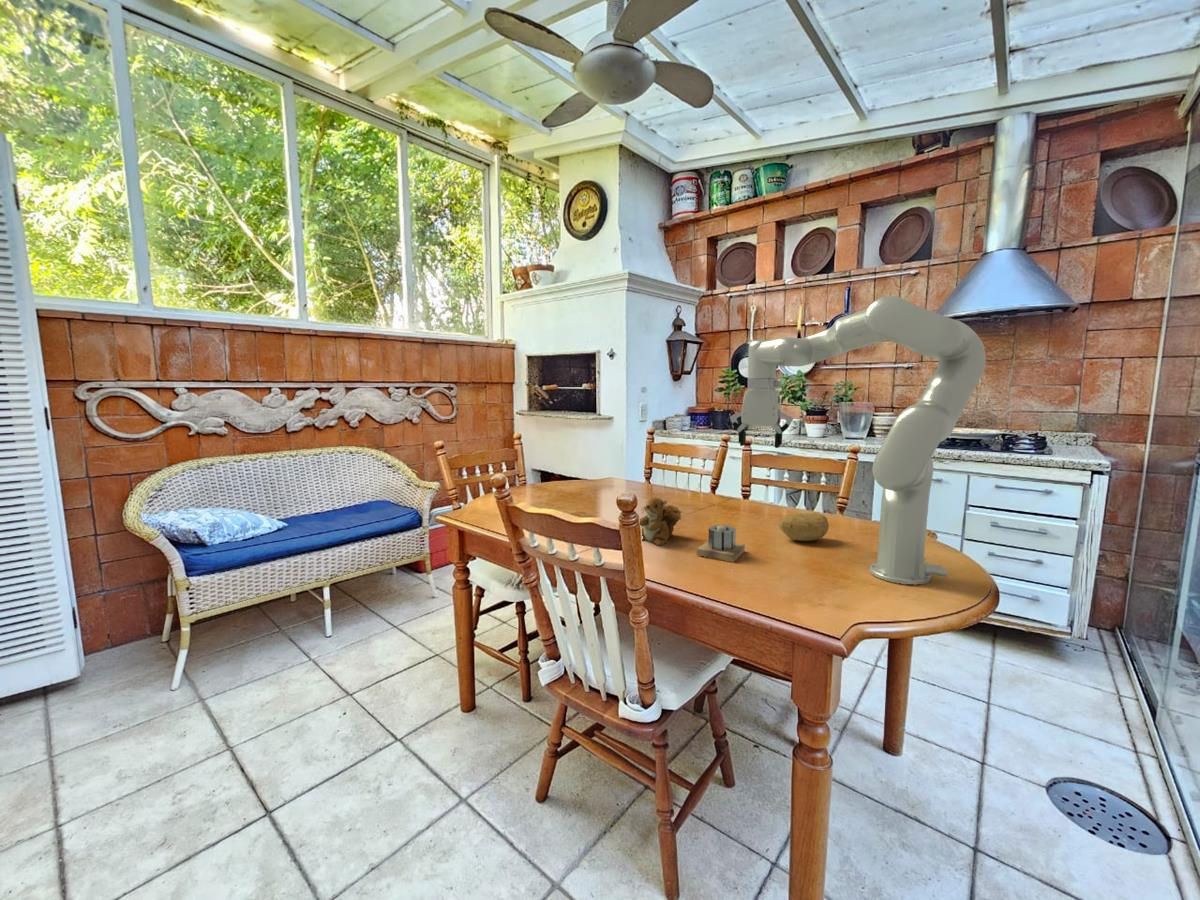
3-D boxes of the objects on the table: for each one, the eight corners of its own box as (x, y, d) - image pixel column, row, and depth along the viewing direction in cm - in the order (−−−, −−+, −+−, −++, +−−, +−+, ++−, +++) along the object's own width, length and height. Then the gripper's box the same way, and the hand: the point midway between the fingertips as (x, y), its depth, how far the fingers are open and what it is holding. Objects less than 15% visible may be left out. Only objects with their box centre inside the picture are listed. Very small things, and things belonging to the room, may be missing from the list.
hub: (737, 545, 140) (738, 527, 140) (730, 552, 135) (730, 533, 134) (714, 541, 144) (714, 524, 143) (705, 548, 138) (705, 530, 138)
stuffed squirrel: (630, 540, 153) (629, 497, 151) (661, 530, 162) (661, 489, 160) (654, 547, 145) (654, 502, 144) (686, 537, 155) (686, 495, 153)
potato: (773, 535, 155) (774, 509, 154) (820, 535, 155) (821, 509, 154) (783, 545, 146) (784, 518, 145) (834, 545, 145) (835, 518, 144)
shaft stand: (744, 551, 141) (745, 525, 140) (733, 562, 133) (734, 534, 132) (709, 545, 147) (710, 520, 146) (696, 555, 138) (697, 528, 137)
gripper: (796, 385, 141) (794, 446, 143) (735, 385, 150) (733, 443, 152) (791, 385, 135) (788, 449, 137) (726, 385, 144) (725, 446, 146)
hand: (759, 446), depth 145 cm, fingers open, 9 cm apart
